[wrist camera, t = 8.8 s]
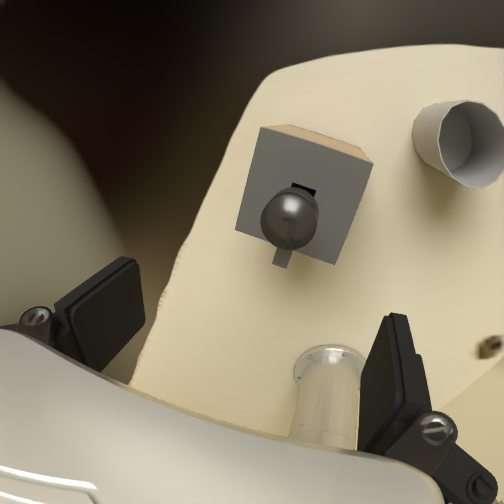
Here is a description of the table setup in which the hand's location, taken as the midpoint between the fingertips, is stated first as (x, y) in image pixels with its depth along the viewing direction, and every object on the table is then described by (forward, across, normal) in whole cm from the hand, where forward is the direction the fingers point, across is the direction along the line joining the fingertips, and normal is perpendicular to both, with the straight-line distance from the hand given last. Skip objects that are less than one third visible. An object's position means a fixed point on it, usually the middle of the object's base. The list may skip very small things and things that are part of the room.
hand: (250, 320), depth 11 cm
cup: (+29, -15, -9) cm, 34 cm away
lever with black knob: (+25, 0, -1) cm, 26 cm away
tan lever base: (+29, +1, 0) cm, 29 cm away
